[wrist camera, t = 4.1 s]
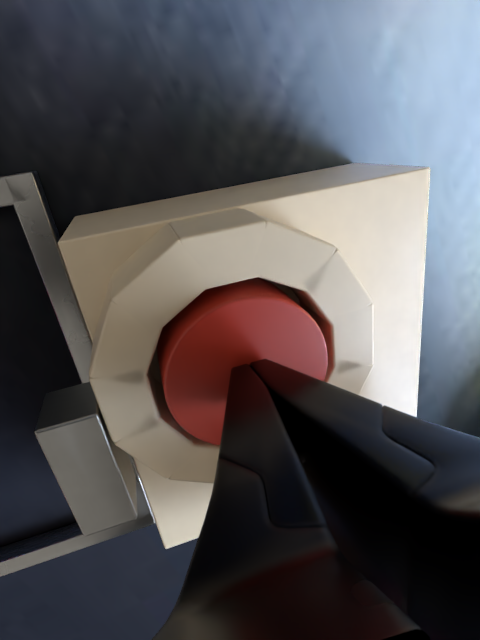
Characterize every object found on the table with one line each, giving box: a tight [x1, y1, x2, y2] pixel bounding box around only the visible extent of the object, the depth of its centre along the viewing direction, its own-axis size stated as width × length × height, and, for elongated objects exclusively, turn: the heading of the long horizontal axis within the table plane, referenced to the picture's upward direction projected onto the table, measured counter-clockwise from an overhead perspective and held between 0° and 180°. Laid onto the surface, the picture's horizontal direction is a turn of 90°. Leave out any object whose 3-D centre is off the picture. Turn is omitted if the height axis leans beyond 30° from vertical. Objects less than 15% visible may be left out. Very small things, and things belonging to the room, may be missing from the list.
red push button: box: [157, 277, 328, 445], centre depth 10 cm, size 4×4×2 cm
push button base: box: [58, 163, 430, 549], centre depth 13 cm, size 11×10×6 cm
